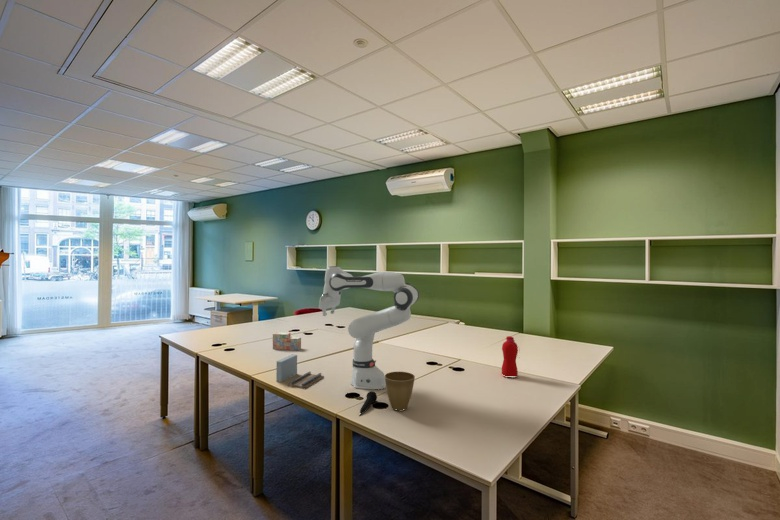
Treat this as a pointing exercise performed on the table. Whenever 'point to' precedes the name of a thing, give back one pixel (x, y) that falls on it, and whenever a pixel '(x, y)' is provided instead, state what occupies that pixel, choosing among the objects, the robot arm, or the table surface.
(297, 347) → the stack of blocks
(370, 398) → the microphone
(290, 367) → the tall grey rectangular block
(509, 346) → the water bottle
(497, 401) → the table surface
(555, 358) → the table surface
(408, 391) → the plant pot
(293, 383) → the track board
